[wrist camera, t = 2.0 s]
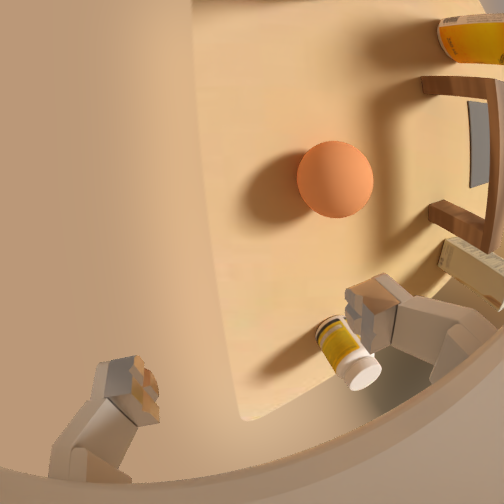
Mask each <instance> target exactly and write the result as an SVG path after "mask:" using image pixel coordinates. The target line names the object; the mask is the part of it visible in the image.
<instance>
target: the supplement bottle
mask: <svg viewBox="0 0 504 504" xmlns="http://www.w3.org/2000/svg"><path fill="white" fill-rule="evenodd" d="M315 338H316V341H317V343H318V345H319V346H320V348H321V350H322V351H323V353H324V355H325V356H326V358H327V360H328V361H329V363H330V365H331V366H332V368H333V369H334V371H335V373H336V374H337V376H338V377H340V378H342V379H344V381H345V383H346V384H347V386H348V387H349V389H350V390H353V391H357V390H361V389H363V388H365V387H367V386H369V385H370V384H371V383H372V382H374V381H375V379H377V378H378V376H379V375H380V372H381V369H382V368H381V366H380V364H379V363H378V361H377V360H376V359H375V358H374V353H373V354H371V355H370V354H369V353H368V351H367V350H366V349H365V347H364V346H363V345H362V344H361V342H360V339H361V336H360V335H357V334H354V333H353V332H352V330H351V329H350V327H349V325H348V323H347V320H346V317H345V316H343V315H337V316H333V317H331V318H329V319H327V320H325V321H324V322H323V323H322V324H321V325H320V326H319V328H318V329H317V331H316V335H315Z"/></svg>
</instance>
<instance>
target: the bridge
mask: <svg viewBox="0 0 504 504" xmlns="http://www.w3.org/2000/svg"><path fill="white" fill-rule="evenodd" d="M421 80H422V86H423V92H424V94H437V95H451V96H462V97H471V98H479V99H486V100H487V103H488V114H489V131H490V169H489V187H488V198H487V208H486V216H485V219H483V218H481V217H479V216H477V215H475V214H473V213H471V212H469V211H467V210H465V209H463V208H461V207H458V206H456V205H454V204H452V203H450V202H448V201H446V200H441V201H438V202H435V203H433V204H430V205H429V219H428V220H429V221H431V222H433V223H435V224H437V225H439V226H440V227H442V228H444V229H446V230H448V231H449V232H451V233H453V234H454V235H456V236H458V237H460V238H461V239H463V240H465V241H466V242H468V243H470V244H471V245H473V246H474V247H476V248H478V249H479V250H481V251H482V252H484V253H486V254H487V255H489V254H490V253H491V252H493V251H494V250H496V249H497V248H499V247H500V244H501V240H502V235H503V229H504V82H503V81H500V80H497V79H491V78H480V77H463V76H421Z"/></svg>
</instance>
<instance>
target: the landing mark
mask: <svg viewBox="0 0 504 504" xmlns="http://www.w3.org/2000/svg"><path fill="white" fill-rule="evenodd" d="M468 109H469V121H470V140H471V173H470V188H472V187H475V186H479V185H482V184H485V183H488V182H489V169H490V131H489V114H488V104H487V103H480V102H471V101H468Z"/></svg>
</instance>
